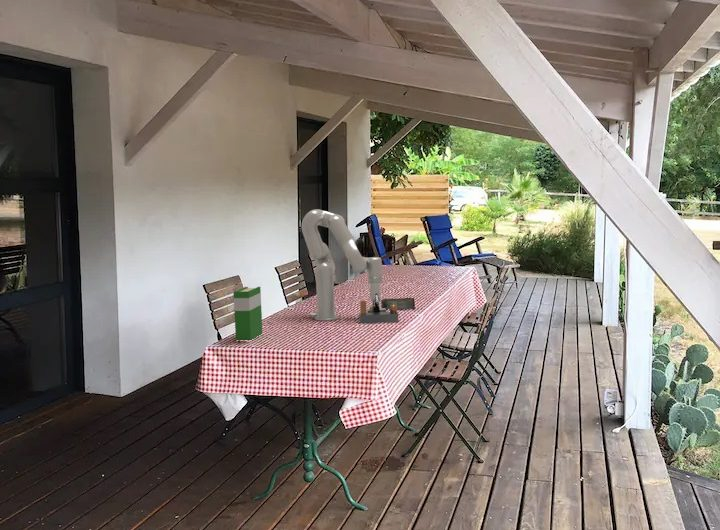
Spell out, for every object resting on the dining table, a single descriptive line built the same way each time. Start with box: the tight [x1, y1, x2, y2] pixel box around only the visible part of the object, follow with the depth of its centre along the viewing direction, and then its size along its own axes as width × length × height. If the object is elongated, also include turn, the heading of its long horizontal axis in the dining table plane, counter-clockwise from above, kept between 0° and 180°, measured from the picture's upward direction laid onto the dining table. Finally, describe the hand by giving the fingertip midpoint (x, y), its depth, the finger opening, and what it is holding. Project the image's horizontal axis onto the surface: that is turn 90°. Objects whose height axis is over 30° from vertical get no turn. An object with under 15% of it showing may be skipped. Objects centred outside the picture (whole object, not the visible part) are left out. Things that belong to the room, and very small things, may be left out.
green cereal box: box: [233, 286, 264, 341], centre depth 344 cm, size 18×7×24 cm, turn 170°
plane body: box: [358, 300, 400, 324], centre depth 377 cm, size 20×7×12 cm, turn 95°
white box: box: [366, 305, 387, 313], centre depth 388 cm, size 10×5×4 cm, turn 95°
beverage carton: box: [380, 297, 416, 311], centre depth 416 cm, size 8×19×7 cm, turn 82°
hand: (376, 313), depth 388 cm, fingers closed on white box, 4 cm apart
